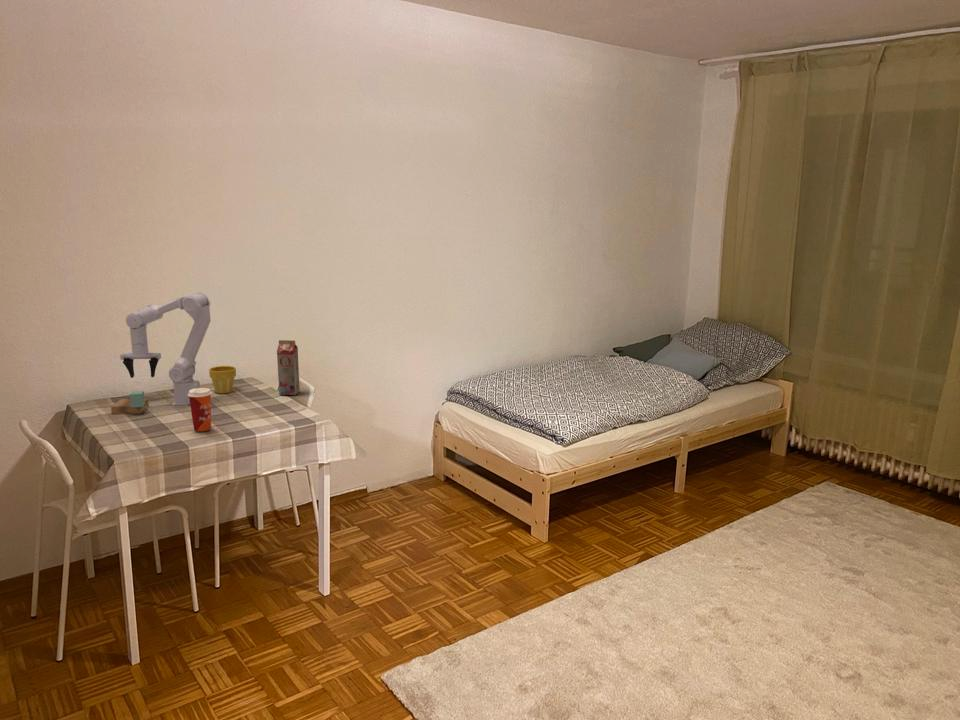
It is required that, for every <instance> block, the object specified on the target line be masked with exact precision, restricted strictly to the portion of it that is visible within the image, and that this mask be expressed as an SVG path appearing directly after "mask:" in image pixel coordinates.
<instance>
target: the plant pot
mask: <svg viewBox="0 0 960 720" xmlns="http://www.w3.org/2000/svg"><path fill="white" fill-rule="evenodd" d="M208 371H209V372H208V373H209V378H210V379H211V381H212V385H213V389H214V392H215V393H216V394H228V393H231V392H233V388H234V381H235V377H237V376H236V375H237V368H236V367H235V366H231V365H217V366H214V367H210V368H209V370H208Z"/></svg>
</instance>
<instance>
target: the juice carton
mask: <svg viewBox="0 0 960 720" xmlns="http://www.w3.org/2000/svg"><path fill="white" fill-rule="evenodd" d="M276 358H277V362H276V363H277V379H278V393H279V396H281V395H282V396H284V395H285V396H289V395H290V396H296V395H297V394H298V393H299V392H300V390H301V389H300V388H301V387H300V372H299V370H300V368H299V348H298V346H297V345H296V340H287V339H286V340H285V339H284V340H283V339H282V340H279V339H278V346H277V348H276Z"/></svg>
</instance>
